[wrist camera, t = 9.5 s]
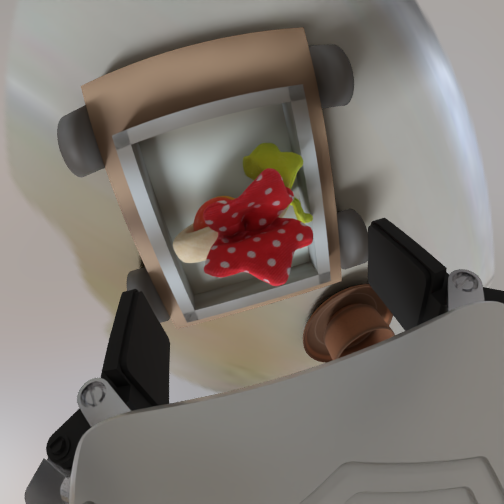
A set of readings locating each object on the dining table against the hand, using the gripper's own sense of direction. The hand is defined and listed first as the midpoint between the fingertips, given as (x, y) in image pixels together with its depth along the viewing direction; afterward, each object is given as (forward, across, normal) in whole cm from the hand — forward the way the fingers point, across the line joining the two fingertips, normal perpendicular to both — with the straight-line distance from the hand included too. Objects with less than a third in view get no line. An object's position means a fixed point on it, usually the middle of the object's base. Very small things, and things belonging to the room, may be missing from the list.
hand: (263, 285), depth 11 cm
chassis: (+14, 0, 0) cm, 14 cm away
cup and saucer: (+14, -10, +19) cm, 26 cm away
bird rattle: (+11, -1, 0) cm, 11 cm away
